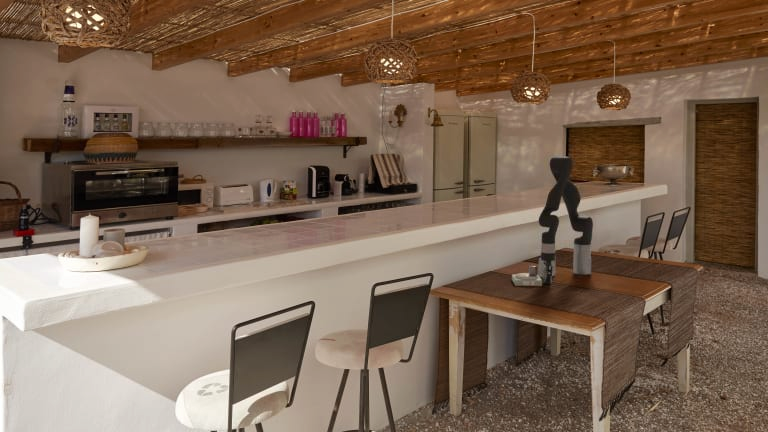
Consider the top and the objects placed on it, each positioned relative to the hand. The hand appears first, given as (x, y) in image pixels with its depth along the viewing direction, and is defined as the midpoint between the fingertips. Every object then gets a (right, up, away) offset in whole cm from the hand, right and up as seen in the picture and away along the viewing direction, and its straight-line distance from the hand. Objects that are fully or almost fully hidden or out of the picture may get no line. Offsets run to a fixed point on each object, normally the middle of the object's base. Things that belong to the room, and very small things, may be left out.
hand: (547, 282), depth 318 cm
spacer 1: (-8, +3, 0) cm, 8 cm away
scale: (-11, -1, +1) cm, 11 cm away
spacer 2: (0, -1, 0) cm, 1 cm away
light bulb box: (+5, +1, +18) cm, 18 cm away
